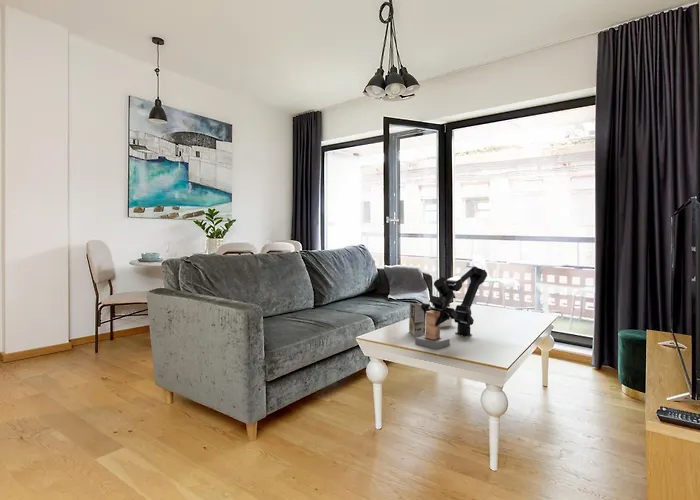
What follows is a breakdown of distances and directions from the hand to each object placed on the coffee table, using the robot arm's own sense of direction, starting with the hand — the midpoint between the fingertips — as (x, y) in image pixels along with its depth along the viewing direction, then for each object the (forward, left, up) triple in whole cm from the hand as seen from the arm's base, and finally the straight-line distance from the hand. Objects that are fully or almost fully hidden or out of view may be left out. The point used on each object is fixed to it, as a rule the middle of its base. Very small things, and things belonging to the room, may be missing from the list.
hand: (431, 324), depth 195 cm
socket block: (0, +1, -10) cm, 10 cm away
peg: (0, +1, -7) cm, 7 cm away
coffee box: (-19, +6, -10) cm, 23 cm away
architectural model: (-27, +32, -11) cm, 43 cm away
